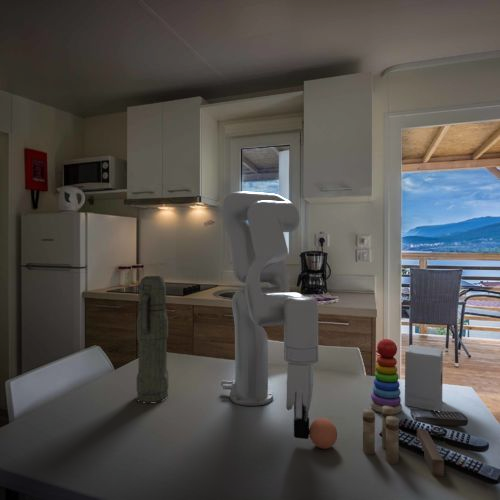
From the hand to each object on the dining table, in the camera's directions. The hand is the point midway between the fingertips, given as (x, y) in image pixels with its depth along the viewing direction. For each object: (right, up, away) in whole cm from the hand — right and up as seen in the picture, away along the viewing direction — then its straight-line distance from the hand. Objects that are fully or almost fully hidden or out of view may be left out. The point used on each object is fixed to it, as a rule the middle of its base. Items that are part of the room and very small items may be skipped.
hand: (301, 436), depth 80 cm
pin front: (+14, -2, -2) cm, 14 cm away
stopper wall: (+26, -2, -5) cm, 26 cm away
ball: (+5, +1, -1) cm, 5 cm away
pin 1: (+19, -2, -1) cm, 19 cm away
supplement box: (+37, -2, +22) cm, 43 cm away
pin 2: (+18, -2, -6) cm, 19 cm away
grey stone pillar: (-40, -2, +25) cm, 47 cm away
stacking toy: (+25, -2, +18) cm, 31 cm away
